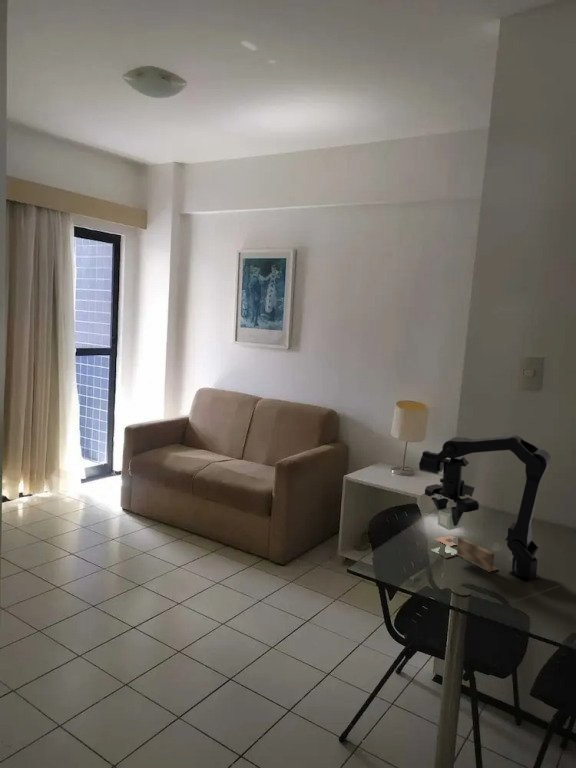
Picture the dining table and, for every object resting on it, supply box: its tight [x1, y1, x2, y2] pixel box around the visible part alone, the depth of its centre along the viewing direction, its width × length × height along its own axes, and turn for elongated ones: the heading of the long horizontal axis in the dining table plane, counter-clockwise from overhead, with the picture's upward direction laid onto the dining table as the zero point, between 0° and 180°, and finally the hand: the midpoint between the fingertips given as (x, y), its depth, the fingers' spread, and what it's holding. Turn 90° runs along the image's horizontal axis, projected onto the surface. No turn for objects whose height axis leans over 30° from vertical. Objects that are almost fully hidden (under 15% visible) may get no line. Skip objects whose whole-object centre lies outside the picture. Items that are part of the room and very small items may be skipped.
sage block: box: [437, 507, 462, 531], centre depth 187 cm, size 5×5×5 cm
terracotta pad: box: [434, 534, 457, 547], centre depth 200 cm, size 7×7×1 cm
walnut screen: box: [456, 536, 499, 572], centre depth 184 cm, size 14×4×6 cm, turn 28°
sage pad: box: [431, 545, 457, 555], centre depth 191 cm, size 7×7×1 cm
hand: (449, 522), depth 187 cm, fingers closed on sage block, 5 cm apart
